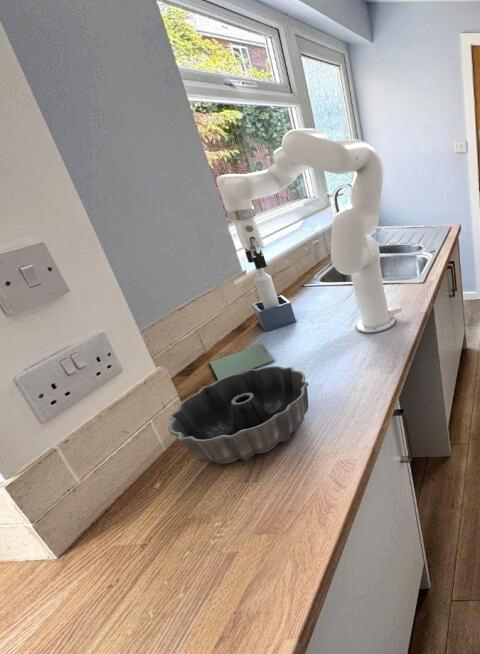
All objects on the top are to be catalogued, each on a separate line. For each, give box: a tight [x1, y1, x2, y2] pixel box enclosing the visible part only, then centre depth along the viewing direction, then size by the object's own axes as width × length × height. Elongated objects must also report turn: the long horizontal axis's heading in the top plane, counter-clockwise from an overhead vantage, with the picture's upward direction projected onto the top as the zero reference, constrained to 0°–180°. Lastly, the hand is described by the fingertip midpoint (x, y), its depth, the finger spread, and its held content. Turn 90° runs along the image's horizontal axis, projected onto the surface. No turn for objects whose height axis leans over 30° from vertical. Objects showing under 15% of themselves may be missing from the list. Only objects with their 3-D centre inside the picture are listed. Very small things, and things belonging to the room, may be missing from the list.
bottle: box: [252, 255, 279, 309], centre depth 141 cm, size 5×5×25 cm
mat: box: [209, 344, 274, 381], centre depth 122 cm, size 14×14×1 cm
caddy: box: [251, 295, 297, 332], centre depth 145 cm, size 10×10×8 cm
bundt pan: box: [167, 365, 310, 464], centre depth 91 cm, size 26×26×10 cm
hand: (257, 264), depth 137 cm, fingers open, 9 cm apart
